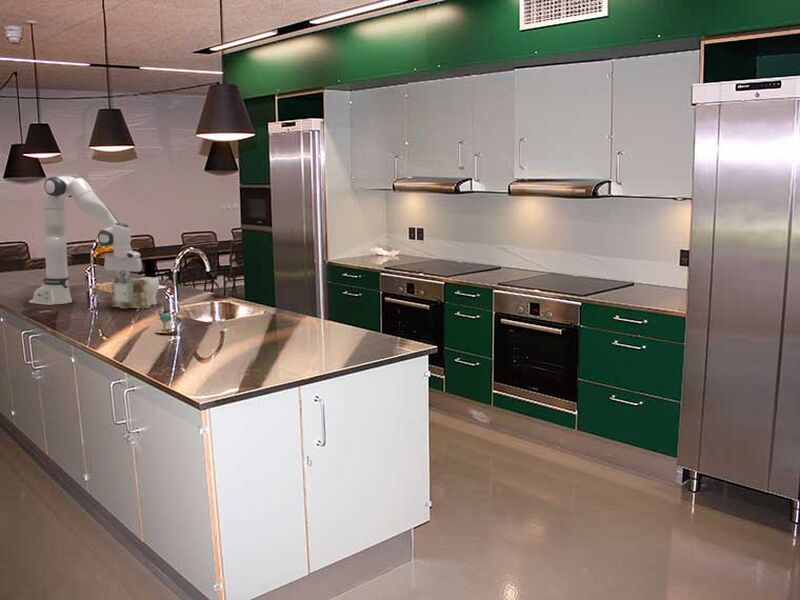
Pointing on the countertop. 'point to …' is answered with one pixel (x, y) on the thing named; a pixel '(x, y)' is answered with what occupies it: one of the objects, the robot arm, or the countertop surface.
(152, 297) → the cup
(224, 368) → the countertop surface
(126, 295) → the white square bottle
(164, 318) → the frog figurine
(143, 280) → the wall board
